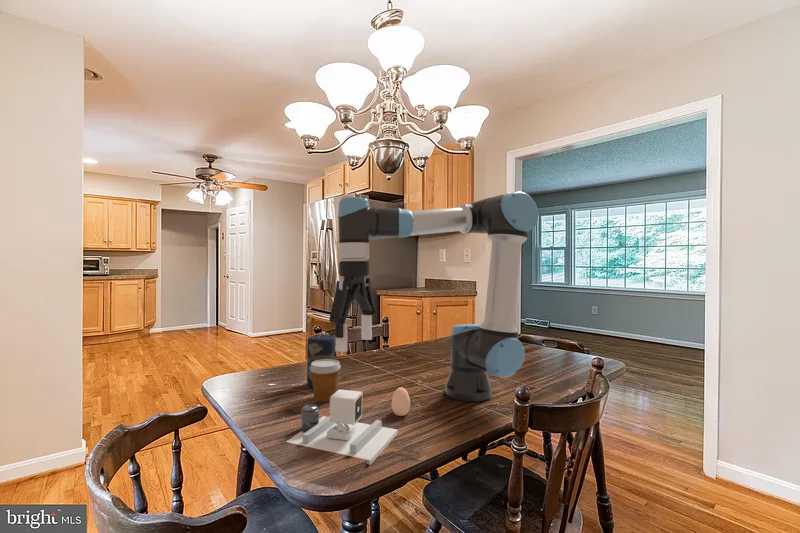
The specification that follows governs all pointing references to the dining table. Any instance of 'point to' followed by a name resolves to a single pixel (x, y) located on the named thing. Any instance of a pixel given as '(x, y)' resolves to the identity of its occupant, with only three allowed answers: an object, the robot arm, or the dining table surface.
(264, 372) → the dining table surface
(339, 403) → the white rounded plastic box
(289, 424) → the dining table surface
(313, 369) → the disposable coffee cup
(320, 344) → the canister
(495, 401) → the dining table surface
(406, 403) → the egg
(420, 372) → the dining table surface
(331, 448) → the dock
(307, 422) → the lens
